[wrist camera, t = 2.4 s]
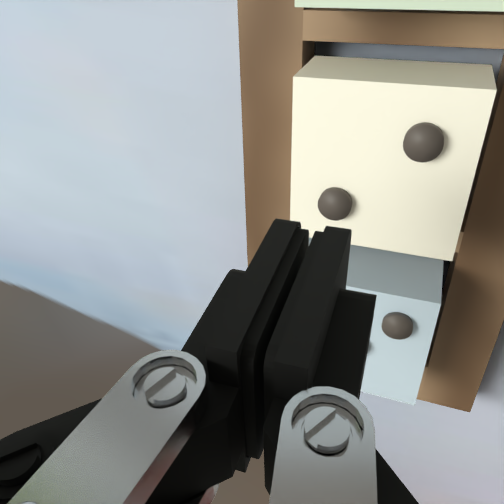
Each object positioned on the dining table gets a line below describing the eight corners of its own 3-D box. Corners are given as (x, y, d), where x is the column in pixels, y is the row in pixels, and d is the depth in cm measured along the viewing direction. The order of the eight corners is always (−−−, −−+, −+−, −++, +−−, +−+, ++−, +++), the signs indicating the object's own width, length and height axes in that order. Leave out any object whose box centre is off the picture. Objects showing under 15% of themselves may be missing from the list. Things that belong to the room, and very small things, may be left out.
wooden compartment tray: (769, -483, 10) (824, -553, 9) (469, 383, 26) (469, 412, 25) (248, -367, 14) (221, -402, 12) (262, 334, 30) (251, 357, 28)
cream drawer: (491, 64, 16) (497, 93, 13) (453, 220, 19) (452, 265, 17) (315, 55, 18) (290, 78, 15) (308, 199, 21) (287, 238, 18)
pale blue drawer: (443, 260, 20) (440, 309, 18) (419, 357, 24) (414, 410, 21) (307, 237, 22) (286, 278, 20) (302, 331, 26) (284, 377, 23)
